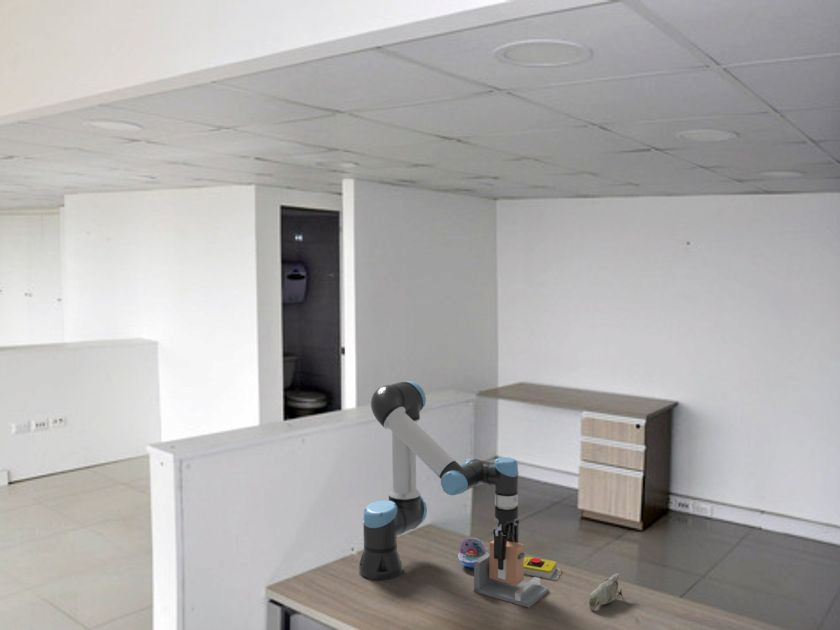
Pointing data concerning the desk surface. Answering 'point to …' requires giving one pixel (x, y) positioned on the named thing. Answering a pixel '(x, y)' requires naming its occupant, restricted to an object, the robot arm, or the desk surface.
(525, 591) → the strip
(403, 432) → the robot arm
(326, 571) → the desk surface
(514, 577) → the cabinet block
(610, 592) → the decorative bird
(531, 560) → the emergency button
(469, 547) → the cell model
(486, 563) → the gray bracket stand
